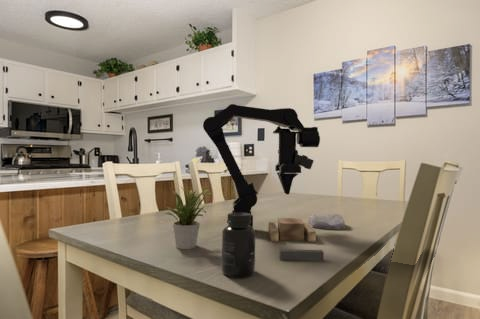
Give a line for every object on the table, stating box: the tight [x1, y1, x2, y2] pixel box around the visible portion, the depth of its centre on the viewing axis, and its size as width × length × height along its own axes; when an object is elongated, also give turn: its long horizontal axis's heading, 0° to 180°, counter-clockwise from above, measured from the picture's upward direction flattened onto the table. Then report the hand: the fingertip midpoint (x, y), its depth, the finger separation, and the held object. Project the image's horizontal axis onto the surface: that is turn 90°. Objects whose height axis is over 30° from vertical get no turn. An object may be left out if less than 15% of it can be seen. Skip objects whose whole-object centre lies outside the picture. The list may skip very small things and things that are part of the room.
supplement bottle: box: [221, 212, 256, 279], centre depth 62 cm, size 7×7×12 cm
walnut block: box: [277, 217, 305, 241], centre depth 92 cm, size 7×8×5 cm
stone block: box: [308, 213, 346, 230], centre depth 106 cm, size 12×5×10 cm
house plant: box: [160, 186, 212, 250], centre depth 80 cm, size 14×14×16 cm
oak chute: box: [267, 221, 317, 243], centre depth 92 cm, size 12×12×3 cm
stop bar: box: [279, 248, 325, 261], centre depth 71 cm, size 10×2×2 cm, turn 89°
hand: (286, 193), depth 101 cm, fingers open, 3 cm apart
